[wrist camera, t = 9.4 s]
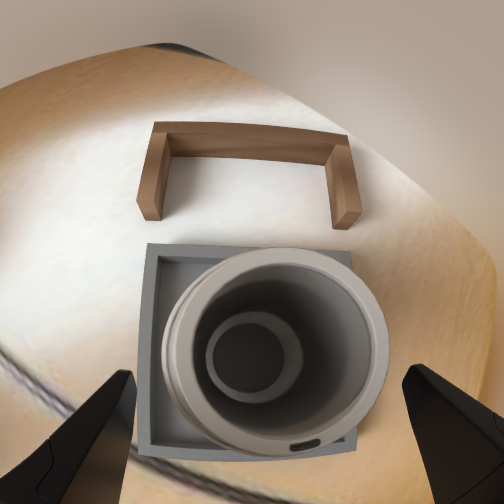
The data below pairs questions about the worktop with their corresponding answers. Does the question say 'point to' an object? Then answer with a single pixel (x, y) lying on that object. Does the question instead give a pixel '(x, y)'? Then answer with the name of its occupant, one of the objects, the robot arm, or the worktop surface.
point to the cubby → (250, 147)
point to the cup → (276, 352)
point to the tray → (150, 361)
